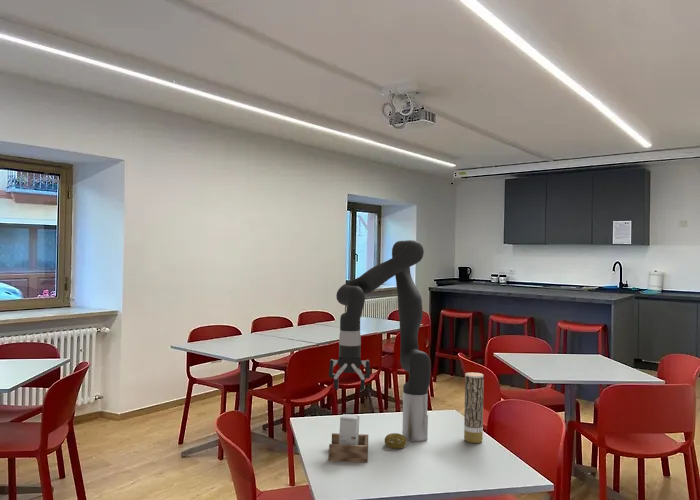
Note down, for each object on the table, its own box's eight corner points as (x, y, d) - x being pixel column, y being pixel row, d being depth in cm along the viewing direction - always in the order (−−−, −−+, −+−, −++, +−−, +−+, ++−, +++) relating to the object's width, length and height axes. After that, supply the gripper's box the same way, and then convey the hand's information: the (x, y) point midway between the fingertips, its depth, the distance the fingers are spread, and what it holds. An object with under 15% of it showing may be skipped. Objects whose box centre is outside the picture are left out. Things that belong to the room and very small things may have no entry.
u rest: (368, 449, 187) (368, 434, 187) (367, 462, 175) (368, 446, 175) (331, 447, 187) (332, 433, 187) (328, 460, 175) (329, 445, 175)
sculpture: (411, 435, 191) (397, 440, 185) (410, 446, 190) (397, 452, 185) (393, 430, 196) (380, 435, 190) (393, 441, 196) (379, 446, 190)
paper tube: (462, 442, 196) (463, 375, 196) (465, 436, 202) (466, 371, 203) (481, 445, 193) (482, 377, 194) (483, 439, 200) (484, 373, 200)
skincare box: (338, 452, 180) (339, 417, 180) (341, 448, 184) (342, 413, 184) (355, 454, 178) (356, 418, 178) (358, 450, 182) (359, 415, 182)
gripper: (370, 341, 185) (369, 387, 185) (330, 341, 186) (329, 386, 186) (370, 345, 178) (369, 393, 178) (328, 344, 179) (327, 392, 178)
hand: (349, 389), depth 182 cm, fingers open, 8 cm apart
